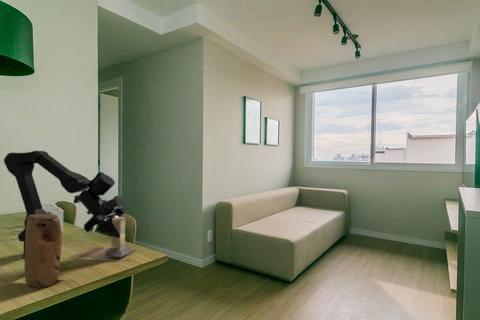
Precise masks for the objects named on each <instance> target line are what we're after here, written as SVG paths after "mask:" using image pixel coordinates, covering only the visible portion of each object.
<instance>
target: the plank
mask: <svg viewBox="0 0 480 320" xmlns="http://www.w3.org/2000/svg"><path fill="white" fill-rule="evenodd" d="M109 248H110V247H97V246H96V247H95V246H89V247H87V248H85V249H82V250H81V251H79V252H77V253H75V254H72V255H71V256H69V257H68V259H77V260H93V261H105V262H106V261H107V262H119V263H121V262H123V261H124V260H126V259H127V258H129V257H130V256H132V255H133V254H135V253H136V252H137V251H138V249H130V252H128V253H127V254H125V255H124V256H122V257H113V256H105V253H106V250H107V249H109Z"/></svg>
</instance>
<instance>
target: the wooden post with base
mask: <svg viewBox="0 0 480 320" xmlns="http://www.w3.org/2000/svg"><path fill="white" fill-rule="evenodd" d="M112 224H113V225H114V227H115V228H116V230H117V231H118V232H119V234H120V237H119V238H116V237H114V236H111V247H108V248H109V249H107V250H106V253H105V256H113V257H122V256H124V255H125V254H127V253H128V252H130V250H131V245H126V234H125V232H126V216H122V217H115V218H113V219H112Z"/></svg>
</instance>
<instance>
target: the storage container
mask: <svg viewBox="0 0 480 320" xmlns="http://www.w3.org/2000/svg"><path fill="white" fill-rule="evenodd" d="M41 205H42V208H43V210H44V211H45V212H47V213H48V212H51V214H55V215H57V216H58V217H59V220H60V225H61V231H62V234H64V209H62V208H61V207H58V206H57V205H56V204H55V203H53V202H51V203H43V204H42V203H41Z"/></svg>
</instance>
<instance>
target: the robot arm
mask: <svg viewBox="0 0 480 320" xmlns="http://www.w3.org/2000/svg"><path fill="white" fill-rule="evenodd" d="M3 163H4V165H5V167H6V169H7V171H8V172H9V173H10V174H11V175H12V176H13V177H15V180H16V184H17V186H18V190H19V192H20V197H21V200H22V203H23V206H24V209H25V211H26V214H25V218H24V221H23V222H24V229H23V230H22V231H20V233H18V235H17V238H18V241H19V242H23V254H22V259H25V235H26V223H27V217H28V216H29V215H34V214H47V212H45V211H44V210H43V208H42V205H41V204H42V201H41V199H40V195H39V193H38V189H37V186H36V183H35V179H34V176H33V172H34V169H35V164H38V165H39V166H40V167H42V168H43V169H44V170H46V171H47V172H48V173H50V174H51V175H52V176H53V177H54V178H56V179H58V180H59V183H60V185H61V186H62V188H64V190H65V191H66V192H67V193H69V194H75V193H80V194H77V195H74V199H73V204H80V203H81V204H82V206H84V208H85V209H86V210H87V211H86V214H87V215H91V217H90V218H89V219H88V220H87V221H86V222H85V223H84V224H83V230H84V231H85V232H86V233H87V234H88V233H91V232H92V231H94V227H95V226H97V228H96V229H95V231H96V232H100V233H104V234H107V235H109V236H111V237H112V236H114V237H116V238H119V237H120V234H119V232H118V231H117V230H116V228H115V227H114V225H113V224H112V219H113V218H115V217H123V216H124V215H125V214H126V213H127V212H128V209H126V208H125V206H123V205H125V204H124V202H125V201H124V200H125V198H124V197H123V196H122V195H120V194H118V195H116V196H113V198H112V199H109V200H107V199H104V200H103V199H102V198H101V197H100V196H104V195H106V194H107V192H108V191H110V190H111V188H113V186H115V184H116V182H115V180H114V179H113V177H111V176H109V175H107V174H105V173H104V172H103V171H101V172H100V171H98V173H97V174H96V175H95V176H94V178H92V179H88V178H87V177H86V176H84V175H82V174H80V173H78V172H74V171H72V170H70V169H68V168H67V167H66V166H64V165H63V164H62V163H61V162H60V161H58V160H57V159H55V158H54V157H52V156H51V155H49V153H48V152H47V151H45V150H33V151H26V152H8V153H7V154H6V155H5V157H4V158H3ZM48 213H51V212H48ZM125 235H126V231H125Z"/></svg>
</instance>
